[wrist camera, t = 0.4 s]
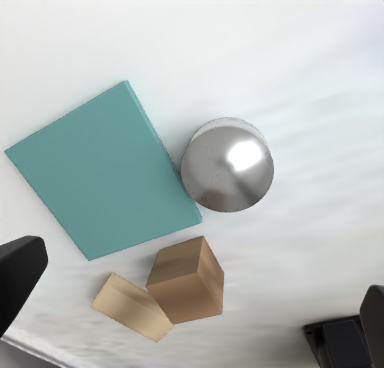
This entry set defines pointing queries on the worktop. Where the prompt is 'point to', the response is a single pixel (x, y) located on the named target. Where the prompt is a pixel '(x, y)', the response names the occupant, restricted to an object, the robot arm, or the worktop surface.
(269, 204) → the worktop surface
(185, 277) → the walnut block
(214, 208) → the metal tin
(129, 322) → the beech slab
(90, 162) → the plate
